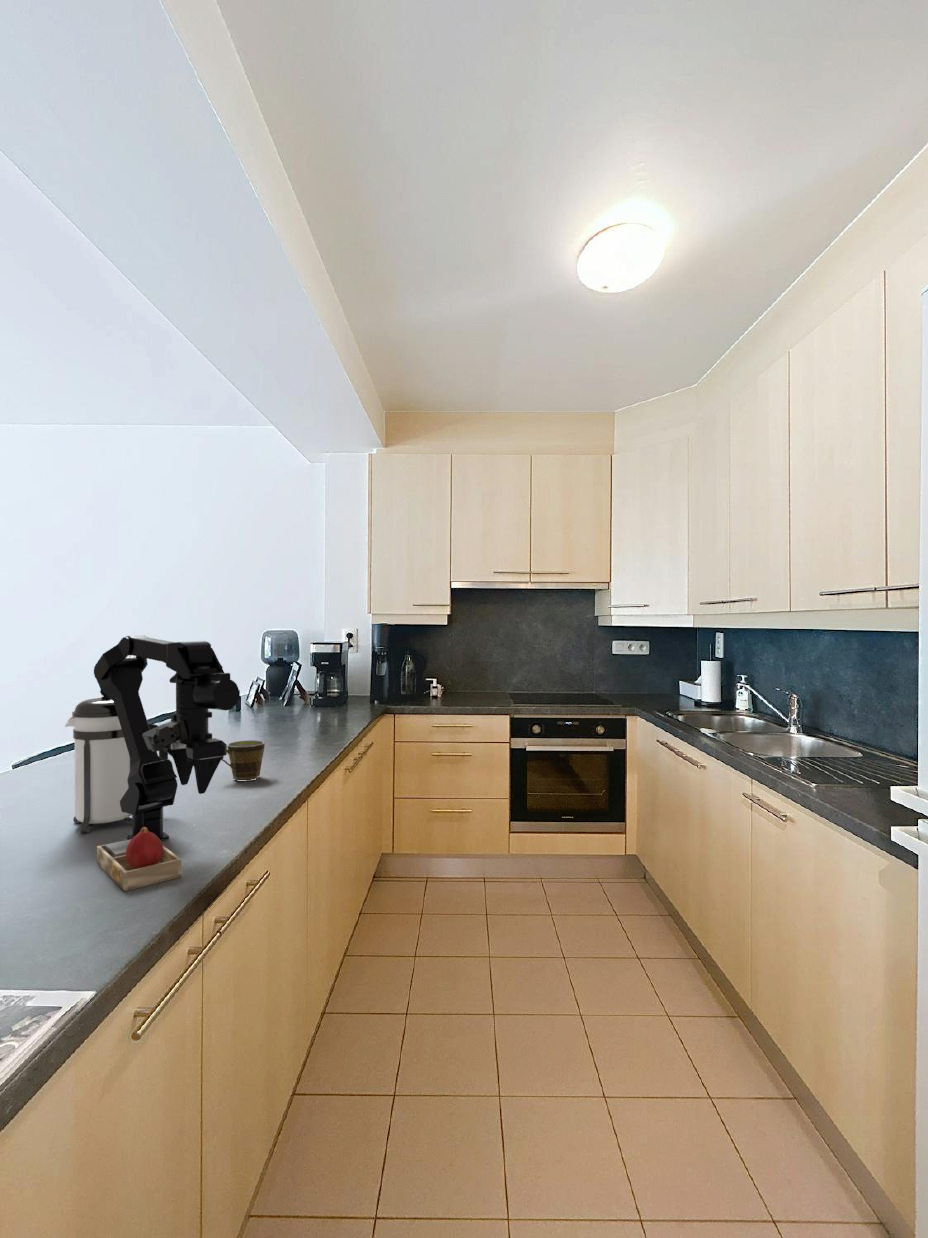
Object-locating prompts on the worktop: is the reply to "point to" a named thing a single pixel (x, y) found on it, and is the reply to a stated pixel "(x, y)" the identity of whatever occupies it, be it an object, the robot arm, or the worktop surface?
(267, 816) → the worktop surface
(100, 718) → the coffee press
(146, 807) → the robot arm
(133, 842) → the red rounded piece
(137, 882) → the wooden compartment tray
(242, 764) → the ceramic cup
